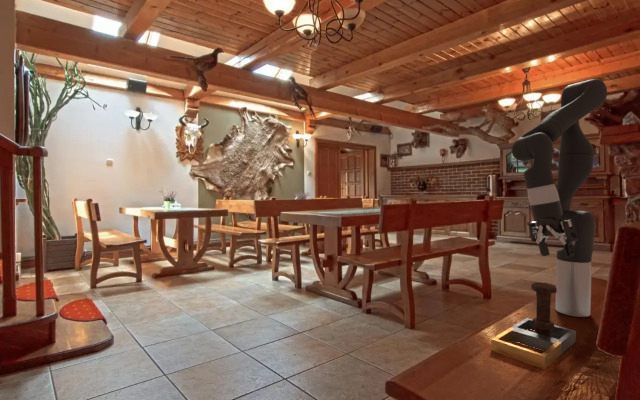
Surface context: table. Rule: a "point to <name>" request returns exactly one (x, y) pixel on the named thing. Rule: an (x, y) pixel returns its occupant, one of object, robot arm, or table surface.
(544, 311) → the bolt
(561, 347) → the tray
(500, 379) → the table surface
